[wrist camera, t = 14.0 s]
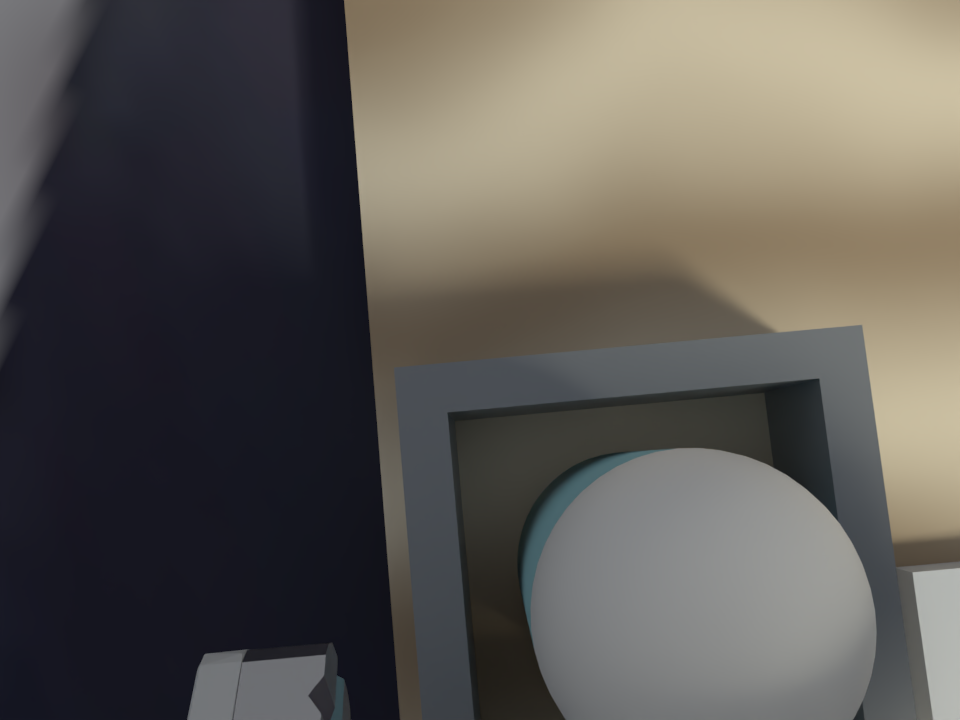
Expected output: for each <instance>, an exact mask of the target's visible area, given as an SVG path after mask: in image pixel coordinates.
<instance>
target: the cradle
mask: <svg viewBox="0 0 960 720" xmlns="http://www.w3.org/2000/svg"><path fill="white" fill-rule="evenodd" d="M394 375H395V387H396V400H397V412H398V425H399V437H400V449H401V462H402V474H403V487H404V499H405V512H406V524H407V537H408V549H409V561H410V574H411V586H412V599H413V611H414V624H415V636H416V649H417V661H418V673H419V686H420V698H421V711H422V720H481V716H480V704H479V693H478V681H477V670H476V659H475V647H474V636H473V624H472V613H471V601H470V590H469V578H468V567H467V556H466V544H465V533H464V521H463V510H462V498H461V487H460V475H459V464H458V452H457V441H456V430H455V421H461V420H472V419H483V418H494V417H505V416H516V415H527V414H538V413H548V412H559V411H570V410H581V409H592V408H603V407H614V406H625V405H636V404H647V403H658V402H669V401H680V400H691V399H702V398H713V397H724V396H735V395H746V394H757V393H764V395H765V403H766V410H767V418H768V426H769V434H770V442H771V450H772V458H773V466H774V468H775V469H777V470H778V471H780V472H782V473H784V474H786V475H787V476H789V477H790V478H792V479H793V480H794V481H796V482H797V483H799V484H800V485H801V486H803V487H804V488H805V489H807V490H808V491H809V492H810V493H811V494H812V495H813V496H814V497H815V498H817V499H818V500H819V501H820V502H821V503H822V504H823V505H824V506H825V507H826V508H827V509H828V510H829V512H830V513H831V514H832V515H833V516H834V517H835V519H836V520H837V521H838V522H839V523H840V525H841V526H842V528H843V529H844V531H845V533H846V534H847V536H848V537H849V539H850V540H851V542H852V544H853V546H854V548H855V550H856V552H857V554H858V556H859V558H860V560H861V562H862V565H863V567H864V570H865V573H866V576H867V579H868V582H869V585H870V588H871V593H872V598H873V603H874V608H875V616H876V630H877V635H876V653H875V659H874V665H873V670H872V675H871V679H870V682H869V685H868V688H867V691H866V694H865V697H864V699H863V701H862V703H861V705H860V707H859V709H858V711H857V713H856V716H855V717H854V719H853V720H917V715H916V708H915V700H914V693H913V686H912V679H911V672H910V665H909V657H908V650H907V643H906V636H905V629H904V622H903V614H902V607H901V600H900V593H899V586H898V578H897V571H896V564H895V557H894V550H893V543H892V535H891V528H890V521H889V514H888V507H887V499H886V492H885V485H884V478H883V471H882V464H881V456H880V449H879V442H878V435H877V428H876V421H875V413H874V406H873V399H872V392H871V385H870V377H869V370H868V363H867V356H866V349H865V342H864V334H863V327H862V325H854V326H844V327H833V328H822V329H811V330H800V331H789V332H778V333H767V334H756V335H745V336H734V337H723V338H712V339H701V340H690V341H679V342H668V343H657V344H646V345H635V346H625V347H614V348H603V349H592V350H581V351H570V352H559V353H548V354H537V355H526V356H515V357H504V358H493V359H482V360H471V361H460V362H449V363H438V364H427V365H417V366H406V367H395V368H394Z"/></svg>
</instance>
